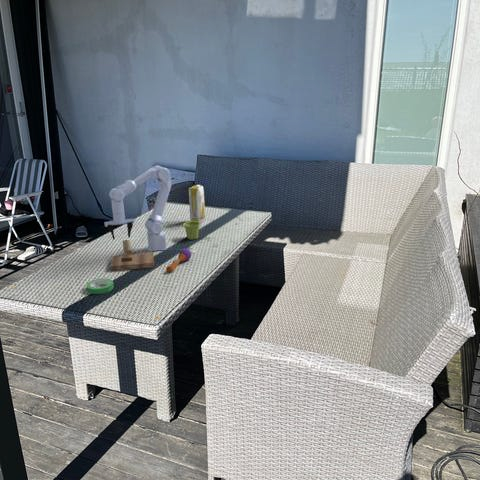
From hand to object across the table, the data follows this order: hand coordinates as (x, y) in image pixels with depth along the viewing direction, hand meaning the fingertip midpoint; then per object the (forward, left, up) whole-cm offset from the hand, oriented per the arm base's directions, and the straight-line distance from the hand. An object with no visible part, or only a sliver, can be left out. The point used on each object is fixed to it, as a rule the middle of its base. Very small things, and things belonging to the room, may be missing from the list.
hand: (121, 238), depth 234 cm
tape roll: (+8, +40, -10) cm, 41 cm away
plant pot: (-37, -19, -10) cm, 43 cm away
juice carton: (-43, -50, -10) cm, 67 cm away
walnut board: (-5, +14, -9) cm, 17 cm away
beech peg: (-2, +2, -9) cm, 10 cm away
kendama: (-28, +20, -10) cm, 35 cm away
